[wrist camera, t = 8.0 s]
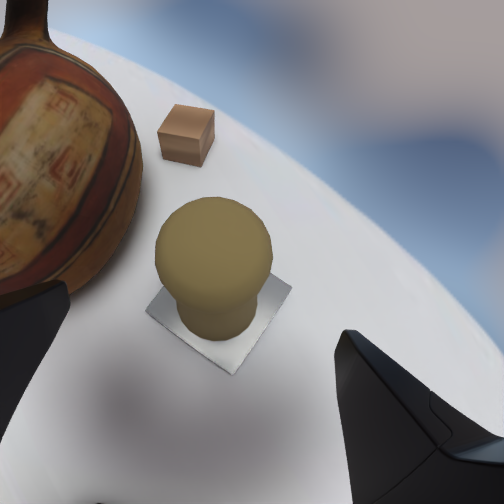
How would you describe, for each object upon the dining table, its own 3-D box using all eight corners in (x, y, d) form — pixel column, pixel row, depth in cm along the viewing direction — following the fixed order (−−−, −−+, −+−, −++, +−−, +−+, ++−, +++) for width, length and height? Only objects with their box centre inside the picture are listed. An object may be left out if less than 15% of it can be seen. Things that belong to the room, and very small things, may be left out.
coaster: (232, 375, 20) (233, 375, 20) (147, 312, 21) (144, 310, 21) (290, 289, 23) (292, 287, 22) (208, 235, 24) (207, 231, 24)
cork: (181, 258, 22) (154, 171, 12) (259, 265, 23) (289, 182, 13) (171, 336, 20) (124, 305, 10) (255, 344, 21) (288, 321, 10)
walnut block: (201, 167, 27) (199, 139, 23) (163, 159, 27) (157, 131, 23) (214, 139, 29) (214, 110, 25) (178, 132, 29) (175, 104, 25)
